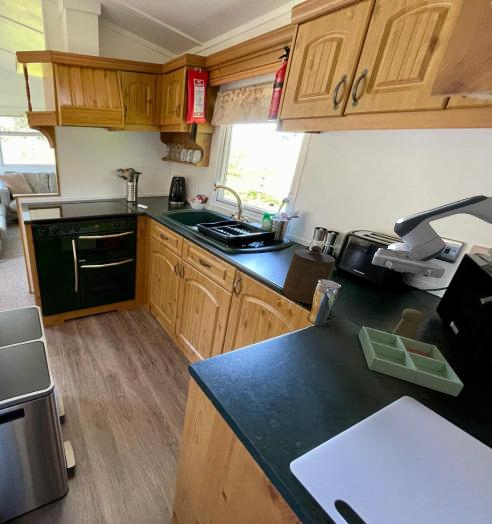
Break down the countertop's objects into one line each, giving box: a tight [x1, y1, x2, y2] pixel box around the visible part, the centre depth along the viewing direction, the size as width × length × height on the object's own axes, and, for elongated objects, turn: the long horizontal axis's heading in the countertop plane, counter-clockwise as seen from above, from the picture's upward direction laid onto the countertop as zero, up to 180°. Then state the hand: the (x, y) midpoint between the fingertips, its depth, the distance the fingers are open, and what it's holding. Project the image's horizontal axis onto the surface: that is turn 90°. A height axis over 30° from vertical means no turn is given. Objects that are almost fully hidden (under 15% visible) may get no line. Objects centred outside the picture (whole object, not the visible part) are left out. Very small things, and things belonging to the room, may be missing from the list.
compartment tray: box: [358, 325, 465, 398], centre depth 83 cm, size 18×18×4 cm
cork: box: [390, 308, 425, 340], centre depth 93 cm, size 6×6×11 cm
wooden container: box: [282, 245, 336, 305], centre depth 117 cm, size 15×15×22 cm
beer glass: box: [306, 279, 342, 327], centre depth 99 cm, size 7×7×15 cm
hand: (409, 270), depth 102 cm, fingers open, 8 cm apart
